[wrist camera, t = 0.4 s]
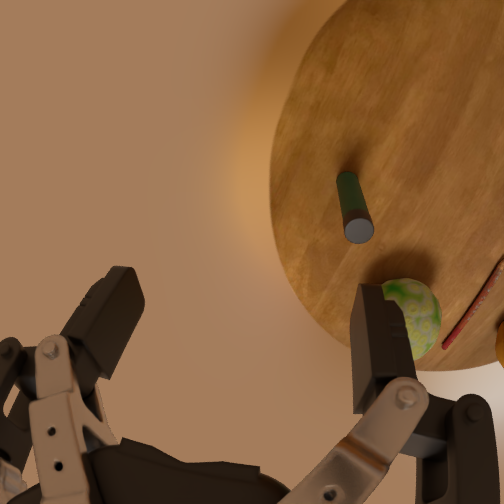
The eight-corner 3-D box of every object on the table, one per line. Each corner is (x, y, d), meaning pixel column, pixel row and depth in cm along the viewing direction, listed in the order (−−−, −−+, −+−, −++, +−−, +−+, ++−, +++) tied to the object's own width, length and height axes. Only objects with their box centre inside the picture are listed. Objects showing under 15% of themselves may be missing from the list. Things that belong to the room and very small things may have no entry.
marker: (331, 179, 30) (338, 228, 23) (350, 166, 29) (364, 212, 22) (344, 196, 31) (354, 249, 24) (362, 184, 30) (379, 234, 23)
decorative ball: (344, 279, 37) (349, 346, 29) (420, 248, 33) (444, 312, 25) (371, 326, 41) (377, 388, 34) (437, 301, 37) (455, 362, 29)
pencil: (445, 345, 42) (446, 350, 41) (440, 345, 42) (441, 350, 41) (509, 251, 30) (512, 256, 30) (504, 250, 30) (507, 254, 30)
